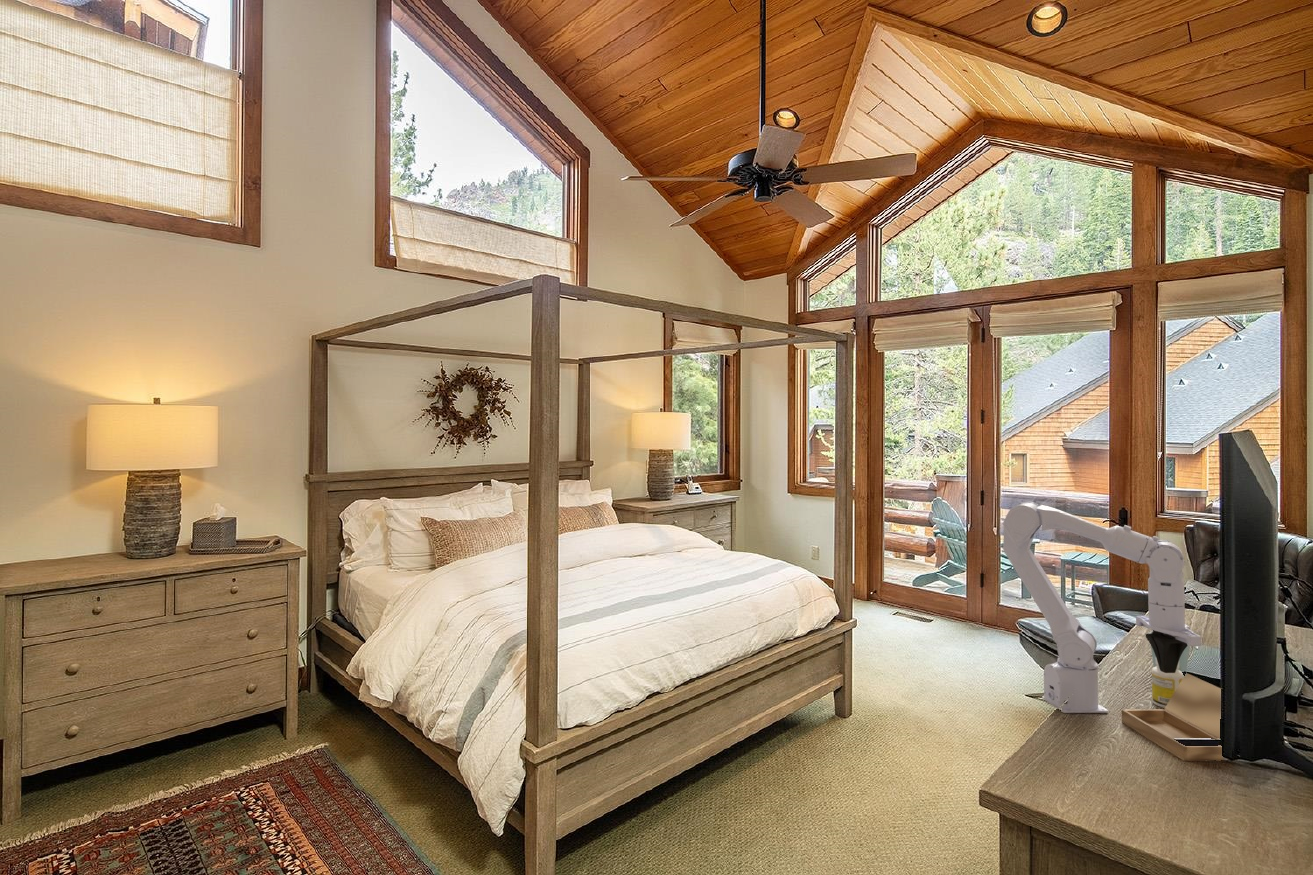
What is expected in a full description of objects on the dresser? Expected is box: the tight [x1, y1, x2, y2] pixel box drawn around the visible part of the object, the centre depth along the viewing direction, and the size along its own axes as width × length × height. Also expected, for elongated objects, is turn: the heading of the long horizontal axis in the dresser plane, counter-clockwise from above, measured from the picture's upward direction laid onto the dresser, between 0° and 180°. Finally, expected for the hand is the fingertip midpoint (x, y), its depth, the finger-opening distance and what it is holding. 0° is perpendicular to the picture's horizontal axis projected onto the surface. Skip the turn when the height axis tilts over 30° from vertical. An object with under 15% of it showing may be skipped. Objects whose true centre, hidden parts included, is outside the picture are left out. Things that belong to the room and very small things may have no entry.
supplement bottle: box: [1151, 658, 1184, 709], centre depth 140 cm, size 5×5×10 cm
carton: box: [1121, 708, 1224, 762], centre depth 125 cm, size 8×16×2 cm, turn 179°
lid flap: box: [1164, 672, 1222, 740], centre depth 125 cm, size 8×16×1 cm
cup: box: [1148, 631, 1191, 672], centre depth 154 cm, size 8×8×10 cm
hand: (1167, 671), depth 131 cm, fingers closed
